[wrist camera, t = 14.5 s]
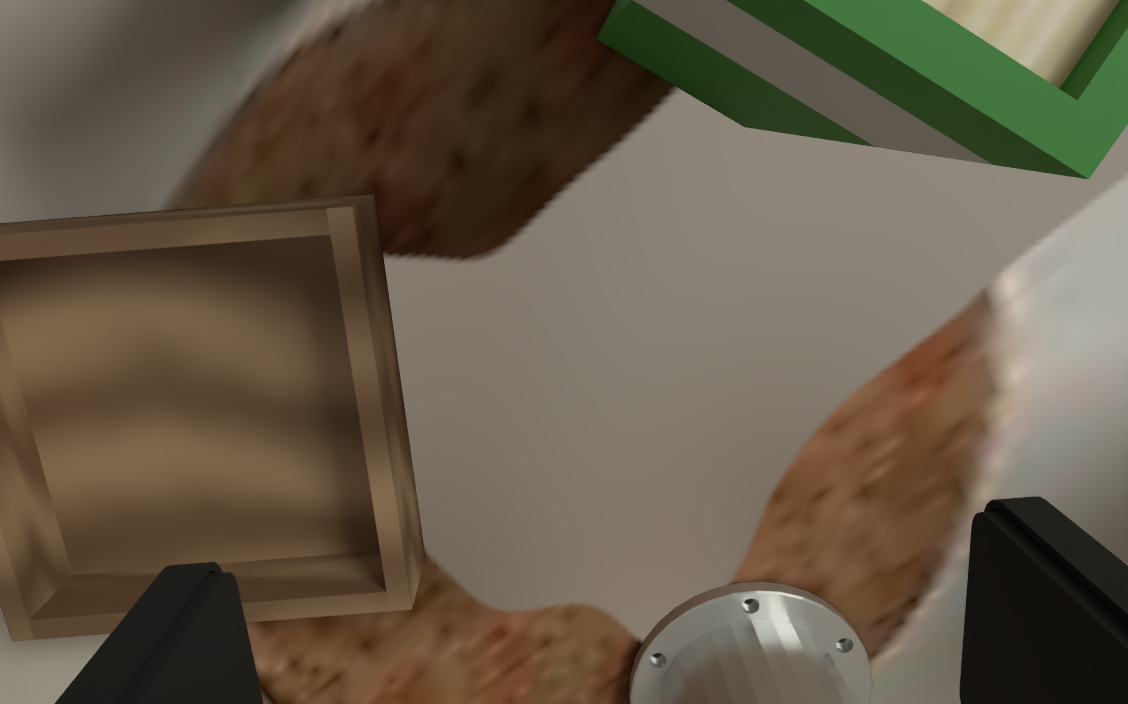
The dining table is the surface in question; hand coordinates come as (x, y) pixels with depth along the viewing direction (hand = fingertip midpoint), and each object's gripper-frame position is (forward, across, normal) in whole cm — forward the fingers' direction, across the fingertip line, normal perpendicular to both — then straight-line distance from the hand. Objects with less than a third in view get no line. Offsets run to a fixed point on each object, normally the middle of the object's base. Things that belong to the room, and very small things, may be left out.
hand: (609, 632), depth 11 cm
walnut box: (+28, +17, +6) cm, 34 cm away
